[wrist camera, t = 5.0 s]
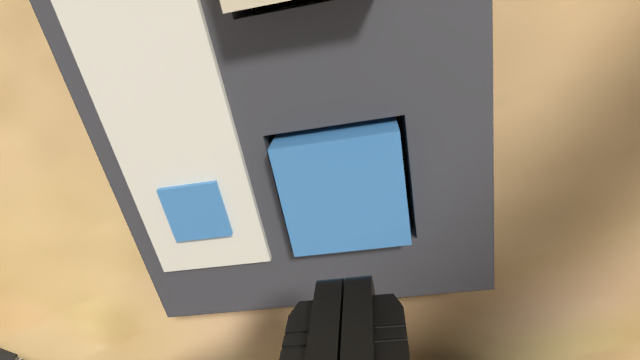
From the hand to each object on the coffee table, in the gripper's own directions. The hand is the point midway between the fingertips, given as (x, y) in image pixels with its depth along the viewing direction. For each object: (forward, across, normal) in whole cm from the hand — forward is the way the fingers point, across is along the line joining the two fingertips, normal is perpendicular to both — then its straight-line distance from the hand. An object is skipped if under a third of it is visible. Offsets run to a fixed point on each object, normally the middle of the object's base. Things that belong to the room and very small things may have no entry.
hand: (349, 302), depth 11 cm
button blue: (+9, 0, 0) cm, 9 cm away
